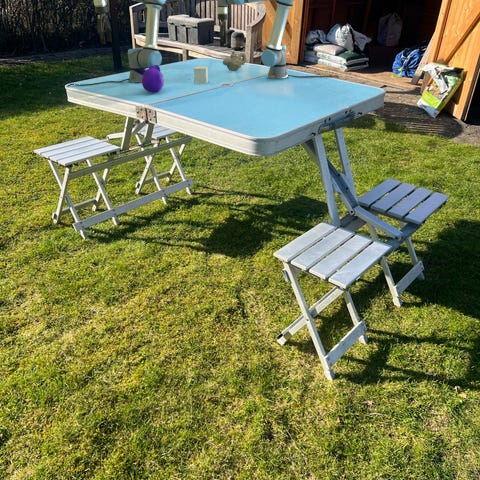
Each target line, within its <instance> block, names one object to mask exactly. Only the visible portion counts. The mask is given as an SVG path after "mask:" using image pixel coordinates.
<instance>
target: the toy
mask: <svg viewBox="0 0 480 480" xmlns="http://www.w3.org/2000/svg"><path fill="white" fill-rule="evenodd" d="M134 71H135V72H137V73H139V74H141V75H143V76H142V83H141V85H142V87H143V89H144V90H145V91H146V92H147V93H151V94H157V93H159V92H160V91H161V90H162V89H163V87H164V86H165V78H164V75H163V72H161V67H160V65H159V66H158V65H154V66H150V67H149V68H146V70H134Z"/></svg>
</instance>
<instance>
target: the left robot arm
mask: <svg viewBox="0 0 480 480" xmlns="http://www.w3.org/2000/svg"><path fill="white" fill-rule="evenodd" d="M131 1H132V2H137V3H140V4H145V7H146V8H147V11H146V12H147V13H146V24H145V25H146V26H145V40H144V45H142V47H135V48H130V49H127V58H128V66H129V76H128V78H125V79H122V80H106V81H100V82H94V83H86V84H85V83H82V84H81V83H80V85H79V84H77V83H69V84H70V85H69V84H67V87H68V88H69V87H70V86H78V87H83V86H85V87H86V86H94V85H100V84H107V83H122V82H127V81H128V82H129V83H133V84H142V76H143V75H141V74H139V73H137V72H135V71H134V70H147V69H149V67H150V66H154V65H158V66H159V67H160V66H161V64H162V60H163V57H162V54H161V52H160V49H159V47H158V40H159V27H160V14H161V10H162V9H163V5H164V4H165V3H166V2H167V0H131ZM107 2H108V0H93V5H94V11H95V13H96V14H97V15H96V22H97V23H96V25H97V29H96V30H97V34H98V35H99V40H100V44H101V45H106V40H107V42H109V43H110V42H113V39H112V34H111V31H112V27H111V22H110V20H109V15H108V12H109V9H108V6H107ZM104 28H105V33H104ZM105 34H106V38H105ZM74 84H75V85H74ZM73 136H74V138H75V137H76V131H75V130H73Z"/></svg>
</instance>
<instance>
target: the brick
mask: <svg viewBox="0 0 480 480" xmlns="http://www.w3.org/2000/svg"><path fill="white" fill-rule="evenodd" d="M193 77H194V85H208V83H209V73H208V66H204V65H203V66H194V68H193Z"/></svg>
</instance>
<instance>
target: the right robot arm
mask: <svg viewBox="0 0 480 480" xmlns="http://www.w3.org/2000/svg"><path fill="white" fill-rule="evenodd" d="M267 1H268V2H269V1H270V0H216V5H217V7H216V10H217V11H216V12H217V20H219V35H218V37H219V47H220V48H224V47H225V45H227V35H228V32H227V23H226V21H227V20H229V14H228V13H229V8H228V7H229V5H235V6H241V5H245V4H252V3H260V2H267ZM294 3H295V0H275V4H276V10H275V14H274V20H273V22H272V27H271V31H270V35H269V39H268V42H267V43H266V44H265V48H264V50H263V51H262V53H261V55H260V60H261V63H262V64H263V65H264V66H265V67H268V68H269V70H268V72H267V79H269V80H285V79H288V78H289V77H292V78H298V79H299V78H338V79H339V78H340V76H339V75H305V76H304V75H302V76H301V75H299V76H298V75H292V74H288V71H287V46H286V45H285V44H284V45H283V44H282V41H283V37H284V33H285V29H286V26H287V20H288V17H289V13H290V9H291V8H293V6H294ZM281 44H282V45H281Z"/></svg>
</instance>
